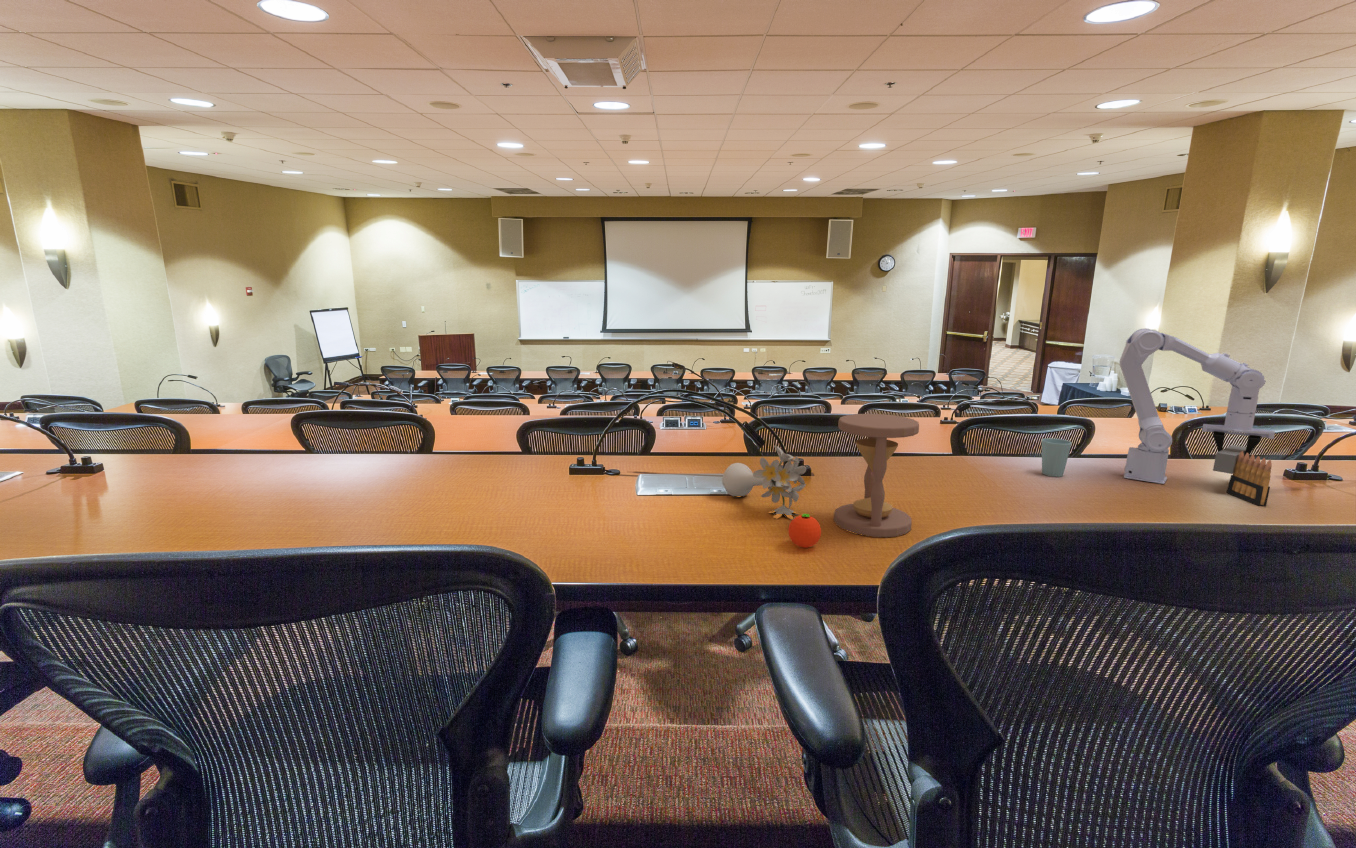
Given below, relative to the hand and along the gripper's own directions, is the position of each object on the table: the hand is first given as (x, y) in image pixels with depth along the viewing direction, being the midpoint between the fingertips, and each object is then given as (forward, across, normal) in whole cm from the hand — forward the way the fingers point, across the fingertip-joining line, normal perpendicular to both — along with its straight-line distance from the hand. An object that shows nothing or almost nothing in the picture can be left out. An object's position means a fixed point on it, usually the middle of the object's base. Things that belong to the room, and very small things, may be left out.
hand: (1232, 460), depth 167 cm
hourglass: (+8, -61, -94) cm, 112 cm away
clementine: (+8, -66, -116) cm, 133 cm away
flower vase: (+8, -88, -100) cm, 134 cm away
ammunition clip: (+8, +4, -10) cm, 14 cm away
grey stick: (+2, 0, 0) cm, 2 cm away
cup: (+8, -39, -18) cm, 44 cm away
